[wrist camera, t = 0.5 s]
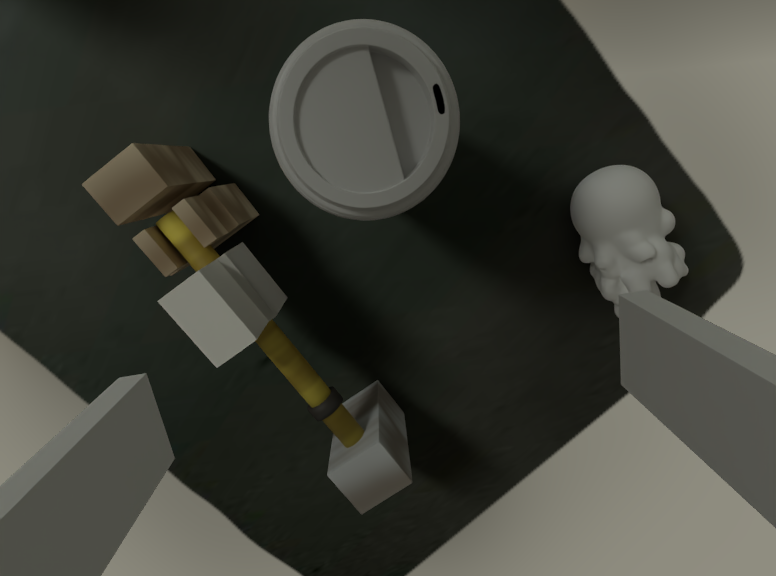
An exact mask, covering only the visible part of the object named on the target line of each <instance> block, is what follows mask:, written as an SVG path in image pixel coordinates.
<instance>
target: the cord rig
mask: <svg viewBox="0 0 776 576" xmlns="http://www.w3.org/2000/svg"><path fill="white" fill-rule="evenodd" d="M214 181H216V179H215V178H214V177H213V175H212V174H211V173H210V172H209V170H208V169H207V168H206V166H205V165H204V164H203V163H202V161H201V160H200V159H199V158H198V156H197V155H196V154H195V153H194V151H193V150H192V149H191V148H190V147H183V146H168V145H154V144H139V143H132V144H131V145H129V146H128V147H127V148H126V149H124V150H123V151H122V152H121V153H120V154H118V155H117V156H116V157H115V158H113V159H112V160H111V161H110V162H108V163H107V164H106V165H105V166H104V167H102V168H101V169H100V170H99V171H97V172H96V173H95V174H94V175H92V176H91V177H90V178H89V179H88V180H86V181H85V182H84V183H83V184H82V185H83V187H84V188H85V189H86V190H87V191H88V192H89V193H90V195H91V196H92V197H93V198H94V199H95V200H96V201H97V203H98V204H99V205H100V206H101V207H102V208H103V209H104V211H105V212H106V213H107V214H108V215H109V216H110V217H111V219H112V220H113V221H114V222H115V223H116V224H117V226H119V225H123V224H127V223H130V222H134V221H138V220H142V219H146V218H150V217H154V216H158V215H161V214H165V213H168V214H166V215H165V216H164V217H162V218H161V219H160V220H159V221H158V222H157V223H156V225H157V226H154V227H150V228H147V229H144V230H143V231H142V232H140V233H139V234H138V235H136V236H135V237H134V238H133V240H134V241H135V243H136V244H137V245H138V246H139V247H140V248H141V250H142V251H143V252H144V253H145V254H146V255H147V256H148V258H149V259H150V260H151V261H152V262H153V263H154V264H155V266H156V267H157V268H158V269H159V270H160V271H161V272H162V274H163V275H164V276H165V277H167V276H168V275H170V276H172V275H174V274H175V273H177V272H179V271H181V270H182V269H184V268H186V267H188V266H189V265H191V266H192V267H193V269H194V270H195V271H196V272H197V271H198V270H200V269H202V268H203V267H205V266H206V265H208V264H210V263H211V262H213V261H214V260H216V259H217V258H219V257H220V256H219V255H218V253H217V252H216V251H215V250H214V249H215V248H216V247H217V246H219V245H220V244H221V243H223V242H224V241H225V240H227V239H228V238H229V237H231V236H232V235H233V234H235V233H236V232H237V231H239V230H240V229H241V228H243V227H244V226H245V225H247V224H248V223H249V222H251V221H252V220H253V219H255V218H256V217H257V216H259V213H258V212H257V211H256V210H255V208H254V207H253V206H252V204H251V203H250V202H249V201H248V199H247V198H246V197H245V196H244V194H243V193H242V192H241V190H240V189H239V188H238V187H237V185H236V184H235V183H232V184H226V185H220V186H214V187H209V188H208V189H206V190H205V191H204V192H202V193H201V194H200V195H199V196H196V195H198V194H199V193H200V192H201V191H203V190H204V189H205V188H207V187H208V186H209V185H210V184H212V183H213V182H214ZM255 342H256V343H257V344H258V345H259V346H260V347H261V349H262V350H263V351H264V352H265V353H266V355H267V356H268V357H269V358H270V359H271V360H272V362H273V363H274V364H275V365H276V366H277V368H278V369H279V370H280V371H281V372H282V373H283V375H284V376H285V377H286V378H287V379H288V380H289V382H290V383H291V384H292V385H293V386H294V388H295V389H296V390H297V391H298V392H299V393H300V395H301V396H302V397H303V398H304V399H305V400H306V402H307V403H308V404H309V405H308V408H307V409H308V411H309V412H310V413H311V414H312V415H313V417H314V418H315V419H316V420H317V421H321V420H323V422H324V423H325V424H326V425H327V426H328V428H329V429H330V430H331V431H332V432H333V439H332V446H331V453H330V460H329V466H328V473H327V476H328V477H329V478H330V479H331V480H332V481H333V482H334V484H335V485H336V486H337V487H338V488H339V489H340V490H341V492H342V493H343V494H344V495H345V496H346V497H347V498H348V500H349V501H350V502H351V503H352V504H353V505H354V506H355V508H356V509H357V510H358V511H359V512H360V513H361V514H363V513H365V512H366V511H368V510H369V509H371V508H373V507H374V506H376V505H377V504H379V503H381V502H382V501H384V500H385V499H387V498H389V497H390V496H392V495H393V494H395V493H396V492H398V491H400V490H401V489H403V488H404V487H406V486H408V485H409V484H411V483H412V474H411V466H410V458H409V449H408V441H407V433H406V424H405V416H404V412H403V411H402V410H401V408H400V407H399V406H398V405H397V403H396V402H395V401H394V400H393V398H392V397H391V396H390V395H389V393H388V392H387V391H386V390H385V388H384V387H383V386H382V384H381V383H380V382H379V381H378V380H377V381H375V382H374V383H372V384H371V385H369V386H368V387H366V388H365V389H363V390H362V391H360V392H359V393H357V394H356V395H354V396H353V397H351V398H350V399H348V400H347V401H345V402H344V403H342V401H343V398H342V396H341V395H340V394H339V393H338V392H337V390H336V389H335V388H334V387H328V386H327V385H326V384H325V383H324V381H323V380H322V379H321V378H320V377H319V375H318V374H317V373H316V372H315V370H314V369H313V368H312V367H311V366H310V364H309V363H308V362H307V361H306V360H305V358H304V357H303V356H302V355H301V354H300V352H299V351H298V350H297V349H296V348H295V346H294V345H293V344H292V343H291V341H290V340H289V339H288V338H287V337H286V335H285V334H284V333H283V332H282V331H281V329H280V328H279V327H278V326H277V325H276V323H275V322H274V321H273V320H272V319H271V320H270V321H269V322H268V323H267V325H266V326H265V328H264V330H263V331H262V333H261V334H260V336H259V337H258V339H257V340H256V341H255Z"/></svg>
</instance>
